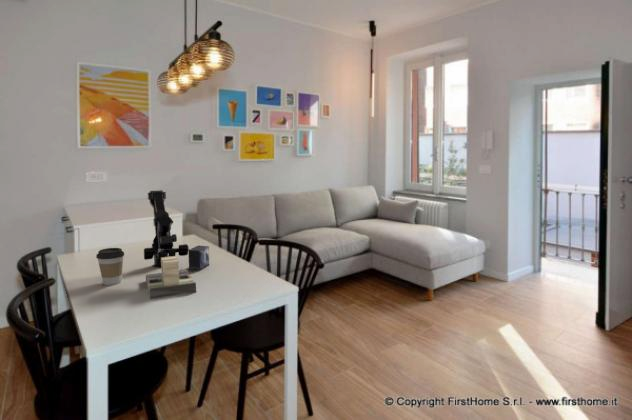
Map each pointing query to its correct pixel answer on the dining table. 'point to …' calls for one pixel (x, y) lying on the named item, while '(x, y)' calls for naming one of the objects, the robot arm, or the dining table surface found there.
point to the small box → (198, 258)
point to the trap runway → (159, 290)
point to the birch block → (170, 270)
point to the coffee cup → (111, 265)
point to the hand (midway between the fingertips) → (168, 267)
